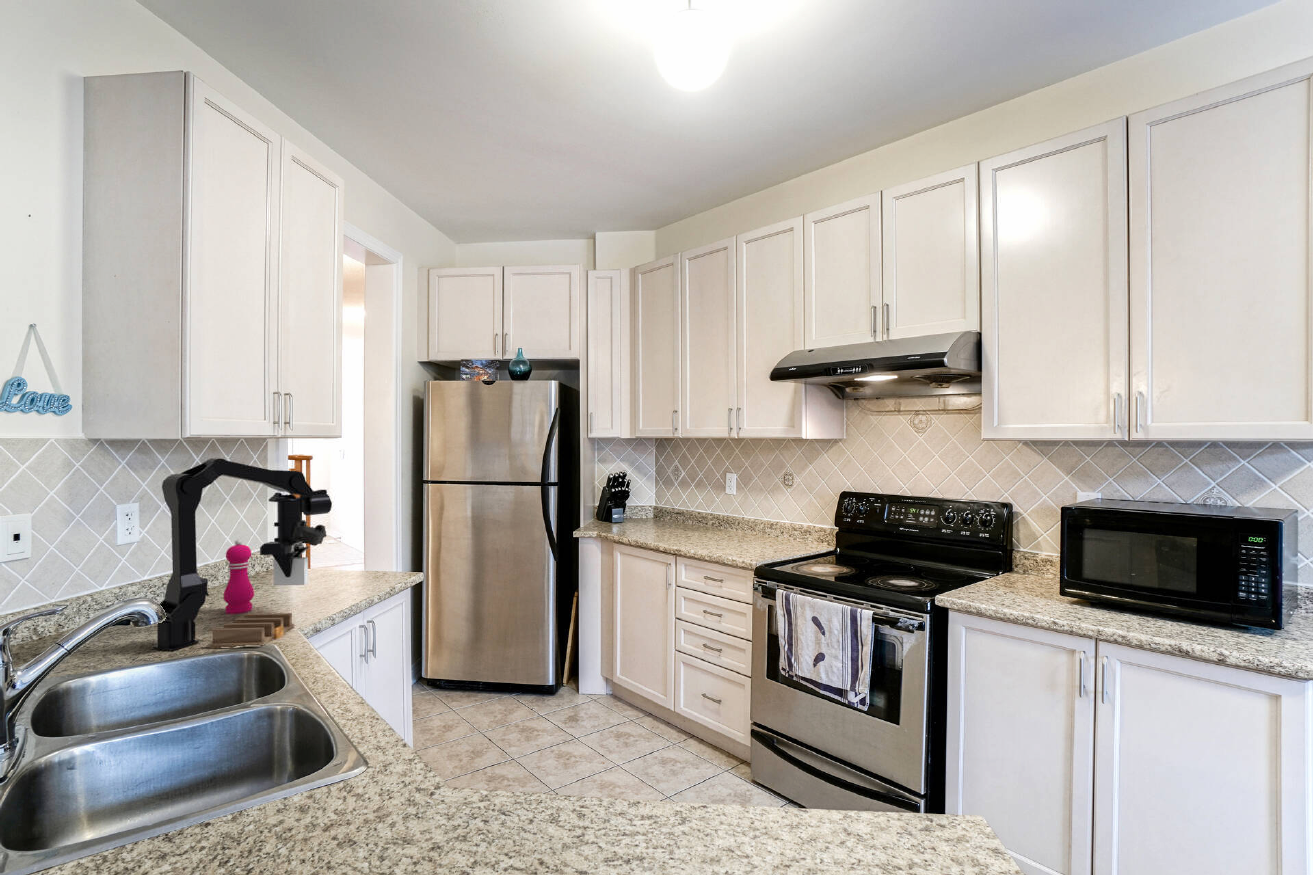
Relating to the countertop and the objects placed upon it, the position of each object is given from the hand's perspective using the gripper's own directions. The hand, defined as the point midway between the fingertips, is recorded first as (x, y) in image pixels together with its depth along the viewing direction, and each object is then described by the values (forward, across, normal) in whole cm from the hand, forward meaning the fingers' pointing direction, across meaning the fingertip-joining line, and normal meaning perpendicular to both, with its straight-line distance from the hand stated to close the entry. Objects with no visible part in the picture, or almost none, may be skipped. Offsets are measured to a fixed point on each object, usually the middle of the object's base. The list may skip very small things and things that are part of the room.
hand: (290, 576), depth 175 cm
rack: (+11, -17, 0) cm, 20 cm away
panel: (+2, 0, 0) cm, 2 cm away
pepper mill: (+12, +9, +18) cm, 23 cm away
